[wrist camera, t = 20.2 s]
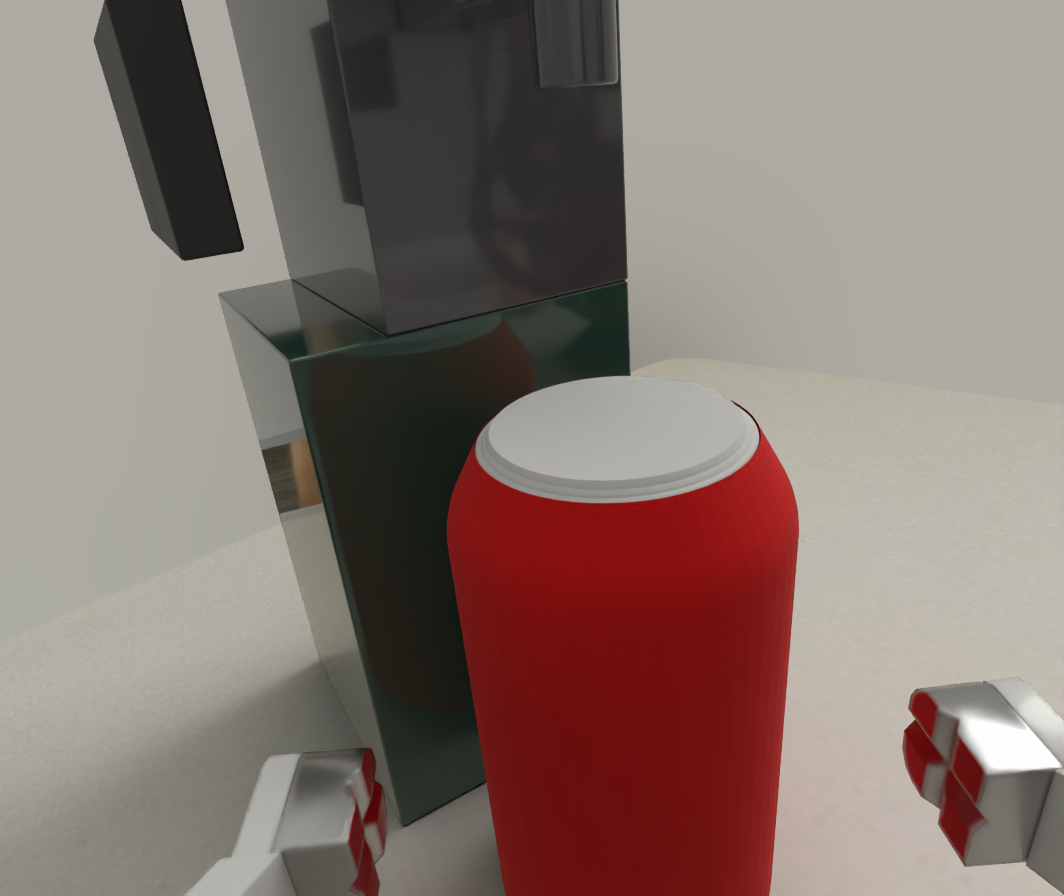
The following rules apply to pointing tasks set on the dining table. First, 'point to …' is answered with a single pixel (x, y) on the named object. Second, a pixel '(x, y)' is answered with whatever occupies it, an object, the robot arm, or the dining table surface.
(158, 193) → the plate
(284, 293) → the dispenser
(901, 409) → the dining table surface
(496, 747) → the beverage can
